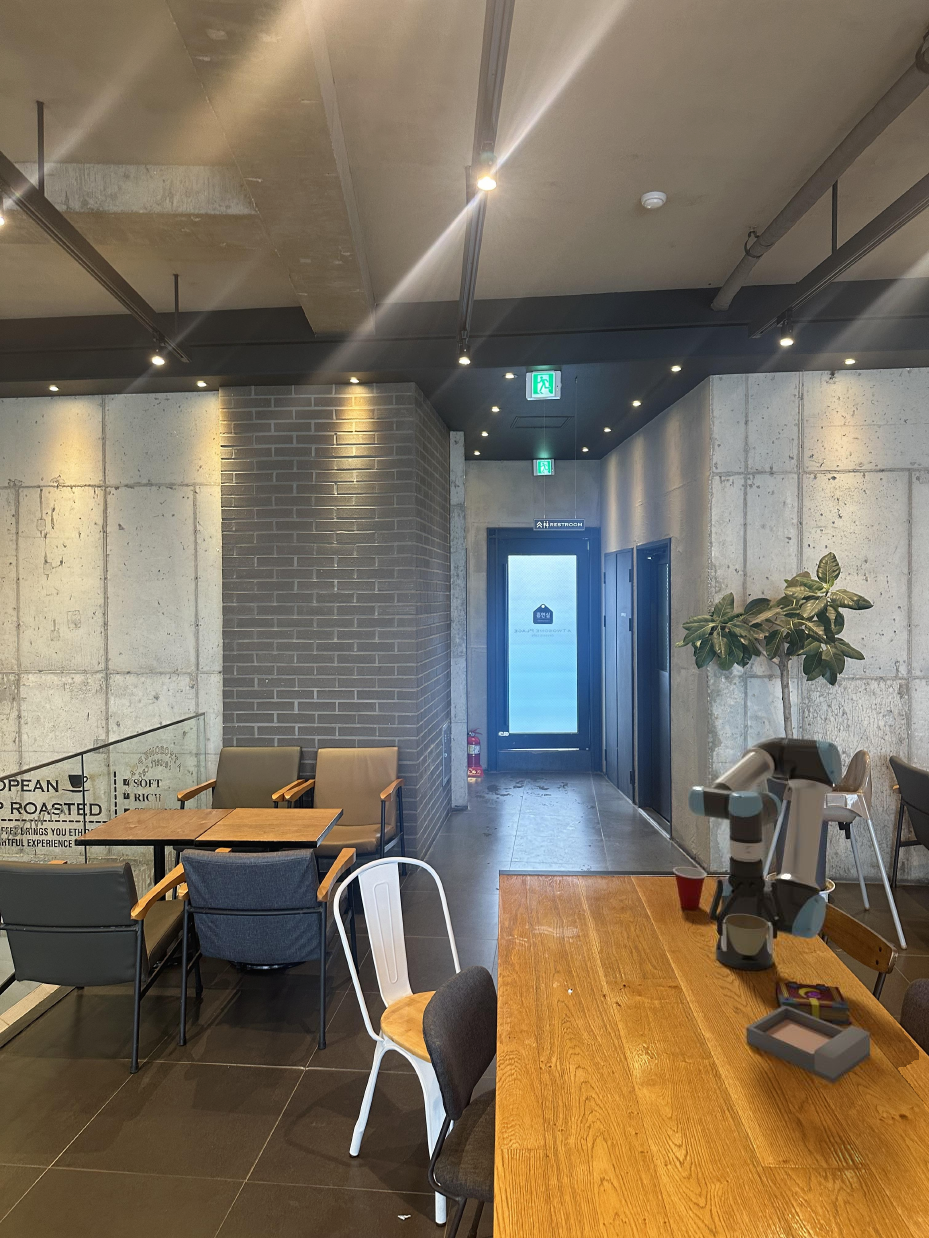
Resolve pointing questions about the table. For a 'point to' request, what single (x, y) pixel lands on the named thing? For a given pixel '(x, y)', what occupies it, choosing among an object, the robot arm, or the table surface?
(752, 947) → the flower pot
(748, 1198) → the table surface
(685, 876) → the plastic cup
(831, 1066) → the grey open tray
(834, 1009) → the decorative book
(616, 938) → the table surface
